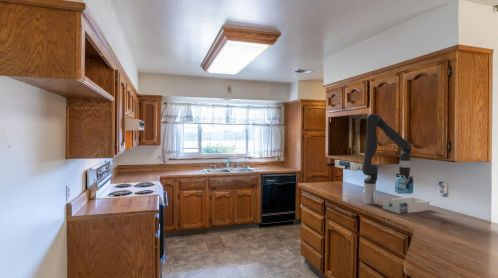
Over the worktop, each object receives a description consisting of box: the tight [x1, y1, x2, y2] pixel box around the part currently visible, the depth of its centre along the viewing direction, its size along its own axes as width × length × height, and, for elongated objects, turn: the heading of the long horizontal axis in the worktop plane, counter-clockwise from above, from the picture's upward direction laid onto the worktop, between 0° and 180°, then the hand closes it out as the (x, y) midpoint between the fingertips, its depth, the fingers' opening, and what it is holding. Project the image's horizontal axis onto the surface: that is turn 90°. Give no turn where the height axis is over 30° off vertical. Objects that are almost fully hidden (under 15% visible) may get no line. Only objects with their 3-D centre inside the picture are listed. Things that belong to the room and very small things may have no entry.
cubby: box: [391, 196, 430, 214], centre depth 229 cm, size 15×22×7 cm
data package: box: [394, 177, 414, 195], centre depth 225 cm, size 12×4×12 cm, turn 91°
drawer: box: [382, 199, 407, 215], centre depth 225 cm, size 15×23×7 cm, turn 111°
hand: (404, 187), depth 226 cm, fingers closed on data package, 5 cm apart
